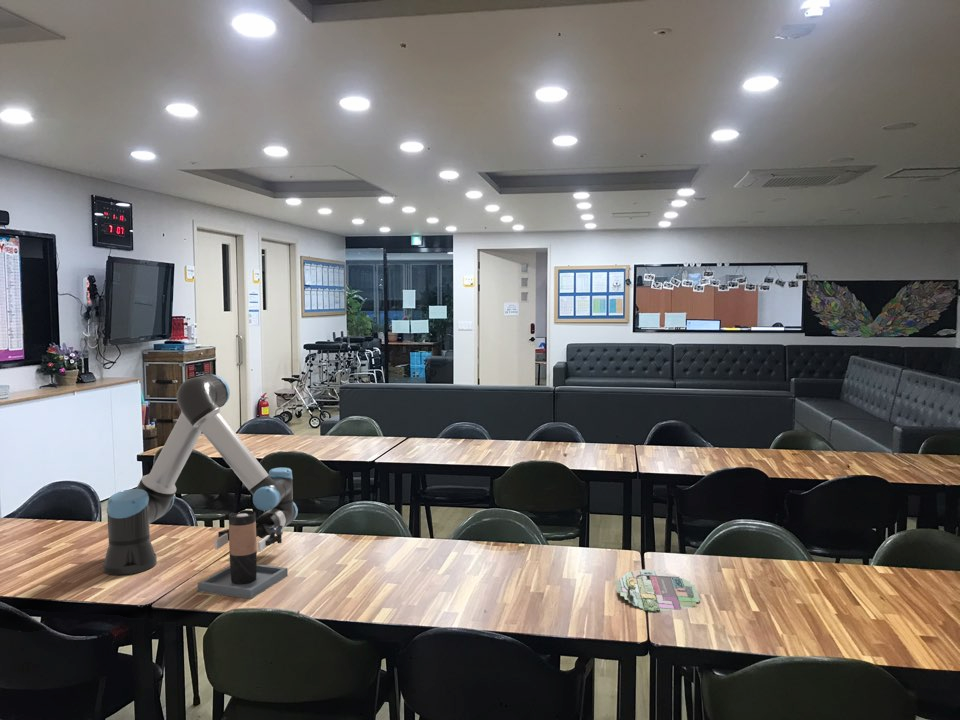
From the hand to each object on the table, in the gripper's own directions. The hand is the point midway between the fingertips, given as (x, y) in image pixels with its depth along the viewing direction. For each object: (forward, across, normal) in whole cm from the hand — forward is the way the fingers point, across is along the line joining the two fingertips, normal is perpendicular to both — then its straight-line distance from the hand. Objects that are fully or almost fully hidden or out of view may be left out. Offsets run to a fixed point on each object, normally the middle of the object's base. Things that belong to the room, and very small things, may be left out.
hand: (237, 546), depth 204 cm
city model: (-10, -120, -13) cm, 121 cm away
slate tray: (-3, 0, -12) cm, 13 cm away
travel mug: (-4, 0, -12) cm, 12 cm away
